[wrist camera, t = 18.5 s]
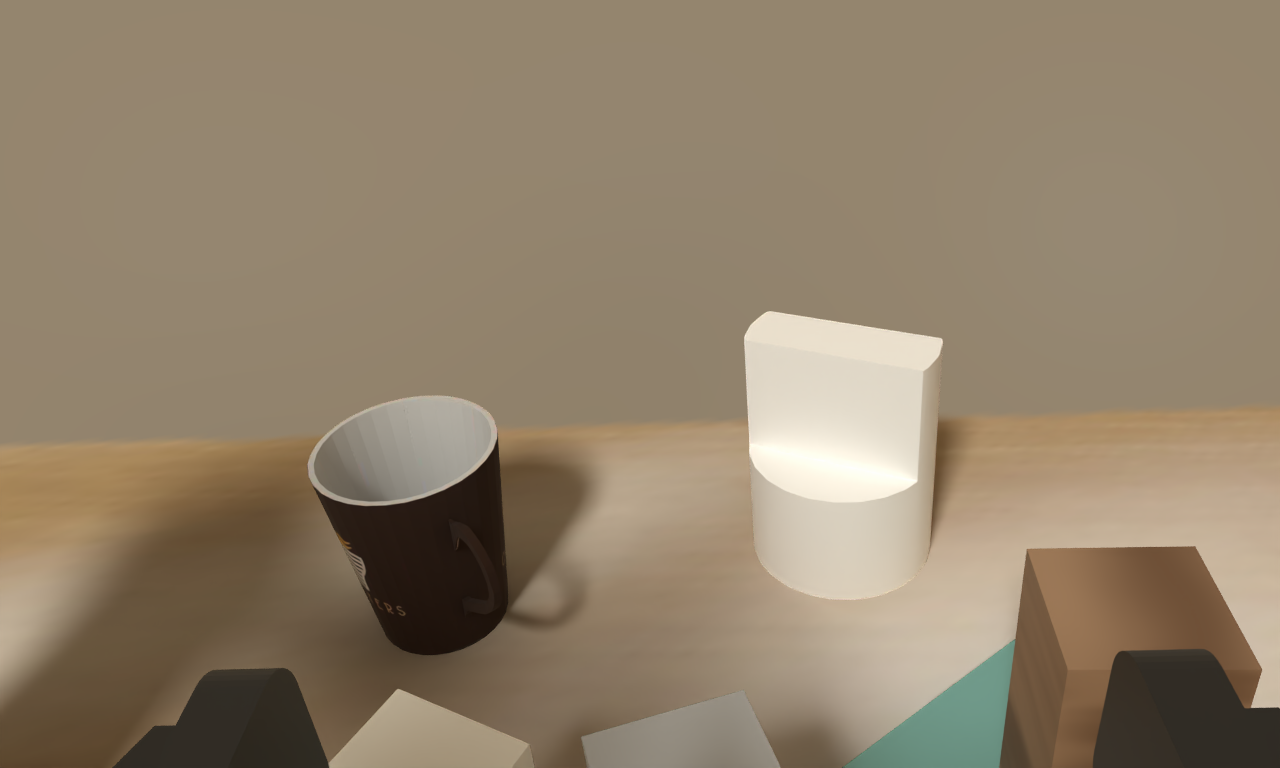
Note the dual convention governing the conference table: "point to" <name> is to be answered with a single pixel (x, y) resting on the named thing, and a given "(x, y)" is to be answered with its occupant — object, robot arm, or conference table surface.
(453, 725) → the off-white brick
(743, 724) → the grey brick
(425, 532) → the coffee mug
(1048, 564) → the walnut brick
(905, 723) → the teal board
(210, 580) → the conference table surface
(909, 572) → the base with upright slab
